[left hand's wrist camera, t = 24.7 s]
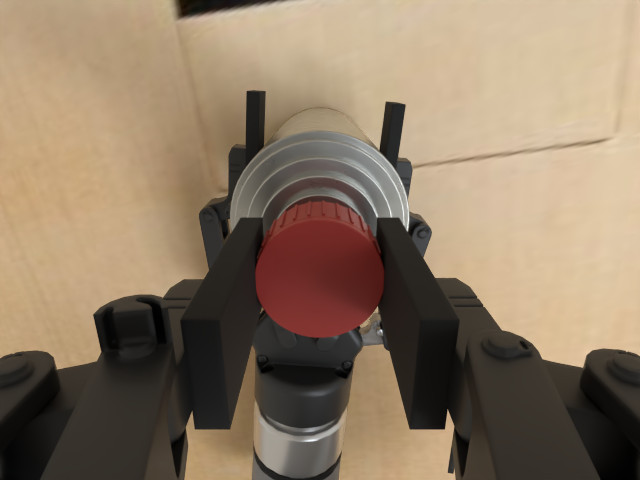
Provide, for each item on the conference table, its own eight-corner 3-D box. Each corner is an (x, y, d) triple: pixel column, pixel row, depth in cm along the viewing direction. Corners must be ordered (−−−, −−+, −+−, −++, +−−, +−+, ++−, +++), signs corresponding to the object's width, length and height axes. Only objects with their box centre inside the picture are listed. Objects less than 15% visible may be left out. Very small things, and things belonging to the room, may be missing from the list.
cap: (324, 174, 13) (326, 189, 11) (401, 260, 14) (414, 287, 13) (236, 251, 14) (224, 277, 12) (315, 327, 15) (314, 361, 14)
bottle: (274, 103, 32) (195, 137, 12) (374, 112, 32) (465, 161, 12) (269, 200, 35) (199, 363, 14) (361, 208, 35) (418, 379, 15)
